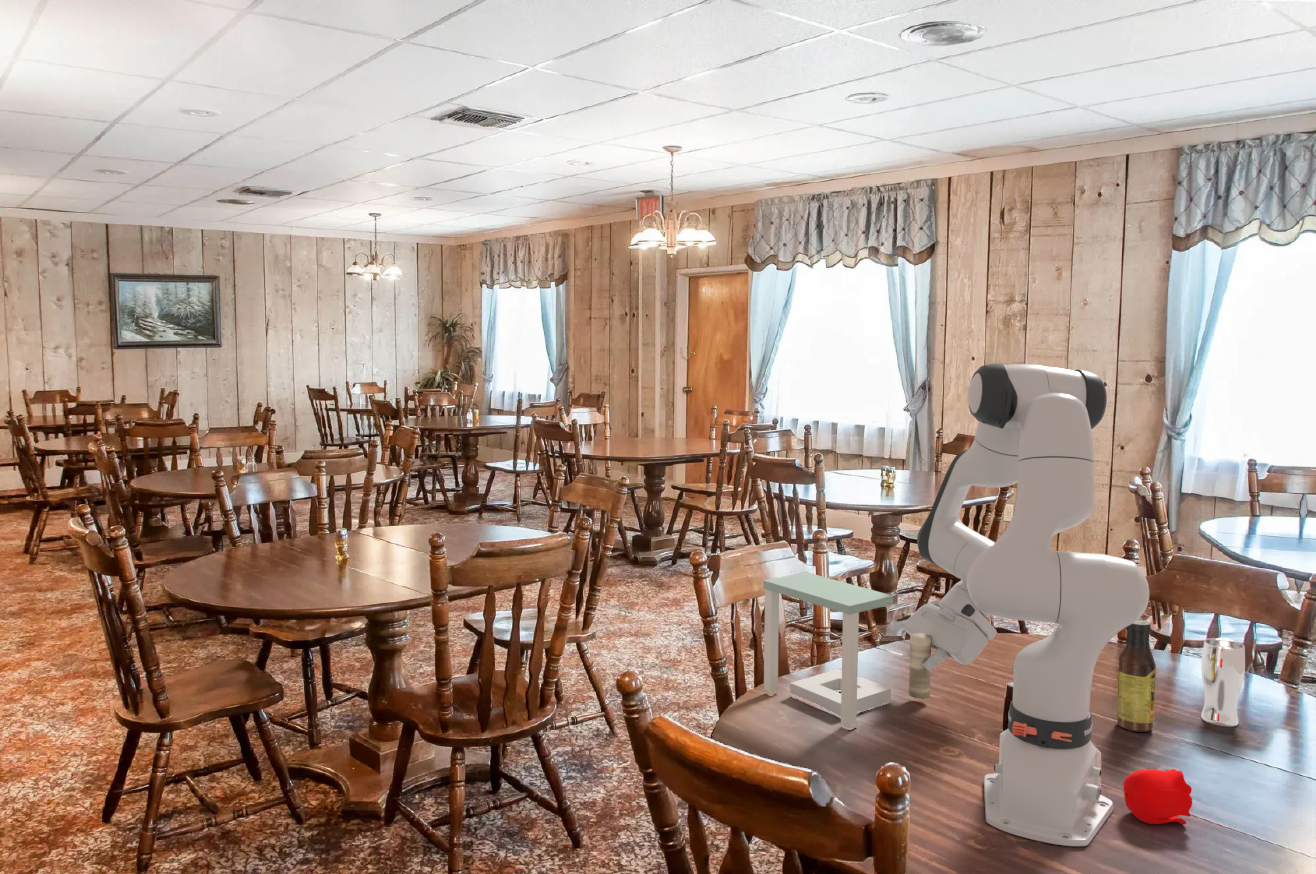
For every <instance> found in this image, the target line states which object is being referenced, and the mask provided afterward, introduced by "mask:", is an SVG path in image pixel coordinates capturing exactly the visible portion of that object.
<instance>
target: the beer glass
mask: <svg viewBox="0 0 1316 874" xmlns="http://www.w3.org/2000/svg"><path fill="white" fill-rule="evenodd" d="M1245 650H1246V647H1245V645H1244V644H1243V643H1242V642H1240V641H1237V640H1236V641H1235V640H1232V639H1228V638H1220V637H1211V638H1210V637H1209V638H1205V639H1204V640H1203V648H1202V654H1201V667H1200V668H1201V678H1202V685H1203V686H1202V687H1203V693H1204V702H1203V703H1204V704H1203V708H1202V711H1201V715H1200V717H1201V720H1203V721H1204V722H1206V723H1208V724H1211V725H1214V726H1218V727H1226V728H1231V727H1232V728H1234V727H1236V726H1238V725H1239V716H1238V701H1239V696H1240V694H1241V693H1240V692H1241V689H1242V686H1243V682H1244V678H1245V670H1246V651H1245Z"/></svg>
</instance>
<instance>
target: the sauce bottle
mask: <svg viewBox="0 0 1316 874" xmlns="http://www.w3.org/2000/svg"><path fill="white" fill-rule="evenodd" d="M1125 629H1126V640H1125V644H1126V645H1125V647H1124V648H1123V649H1122V651H1120V654H1119V657H1118V669H1117V690H1116V691H1117V692H1116V694H1117V695H1116V717H1117V724H1118V726H1120V727H1121V728H1122V729H1125V730H1128V731H1131V732H1137V733H1138V732H1140V733H1146V732H1150V731H1151V730H1152V729H1153V728H1154V723H1153V722H1154V721H1155V709H1156V708H1155V705H1156V704H1155V703H1156V702H1155V701H1156V700H1155V699H1156V682H1157V681H1156V679H1157V678H1156V676H1157V675H1156V673H1157V665H1156V662H1155V658H1154V656H1153V651H1152V650H1151V646H1150V632H1151V622H1150V621H1147V620H1143V619H1138V620H1137V621H1136V622H1134V623H1133V624H1131V625H1129V626H1127V627H1125Z"/></svg>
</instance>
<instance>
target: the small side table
mask: <svg viewBox="0 0 1316 874" xmlns="http://www.w3.org/2000/svg"><path fill="white" fill-rule="evenodd" d="M762 581H763V582H762V583H763V584H762V588H763V589H764V635H763V636H764V643H763V644H764V648H763V649H764V650H763V653H764V654H763V660H764V662H763V665H764V666H763V691H764V690H767V691H769V692H773V691H778V692H779V638H780V637H779V633H780V632H779V629H780V628H779V627H780V626H779V625H780V614H779V613H780V594H781V595H784V596H787V597H790V598H794V599H797V600H800V601H804V602H806V603H810V604H813V605H816V606H819V607H822V608H823V607H824V608H827V609H829V610H833V611H835V612H836V611H837V612H839V613H842V644H841V645H842V649H841V651H842V652H841V653H842V654H841V657H842V658H841V670H842V690H841V719H840V726H841V725H843V726H844V727H846V728H854V727H856V728H857V716H858V714H857V676H858V671H859V668H858V665H859V664H858V662H859V628H860V627H859V622H860V621H859V619H860V613H863V612H866V611H870V610H871V611H872V610H874V609H879V608H883V607H887V606H890V605H891V606H892V605H894V595H892V594H889V593H885V592H881V591H877V590H874V589H869V588H866V587H862V586H858V585H855V584H852V583H847V582H844V581H841V580H836V579H833V578H829V577H825V576H823V575H818V574H815V573H810V572H807V571H805V572H800V573H795V574H790V575H784V576H779V577H774V578H770V579H764V580H762Z"/></svg>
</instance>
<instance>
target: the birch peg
mask: <svg viewBox="0 0 1316 874" xmlns="http://www.w3.org/2000/svg"><path fill="white" fill-rule="evenodd" d="M909 636H910V639H909V641H910V643H909V651H910V660H909V673H908V674H909V676H908V677H909V678H908V696H910V697H912V698H914V699H921V700H922V699H928V698H930V696H931V671H928V670H926V669H925V668H923V666H922V665H921V662H922V661H924V659H925V658H929V657H931V656H932V648H931V635H928V634H925V633H912V634H911V635H909Z"/></svg>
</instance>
